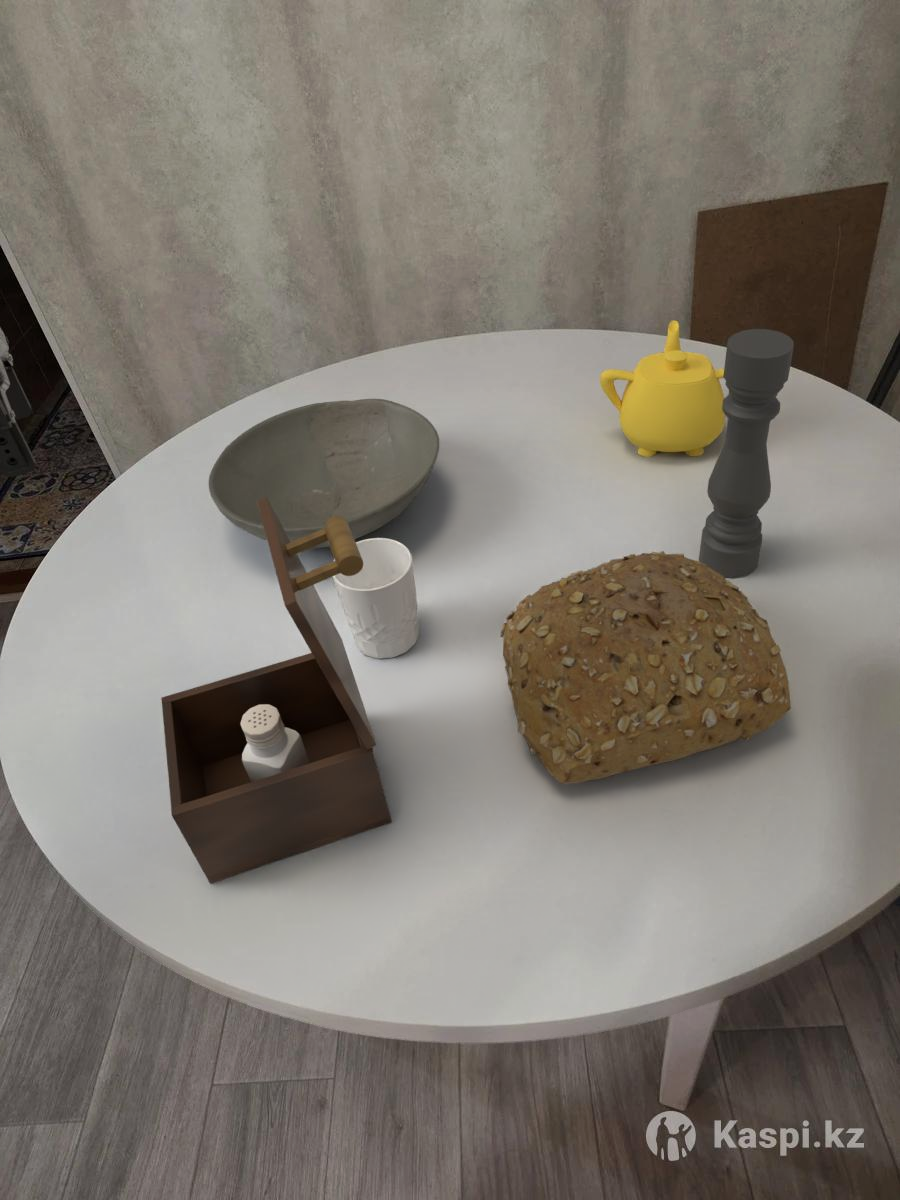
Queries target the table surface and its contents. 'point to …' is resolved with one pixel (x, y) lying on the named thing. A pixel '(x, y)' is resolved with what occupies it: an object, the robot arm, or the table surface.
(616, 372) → the teapot
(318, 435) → the bowl
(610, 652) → the bread
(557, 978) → the table surface
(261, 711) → the pepper shaker
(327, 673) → the lid
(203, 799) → the compartment
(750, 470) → the candle holder
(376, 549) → the white cup
